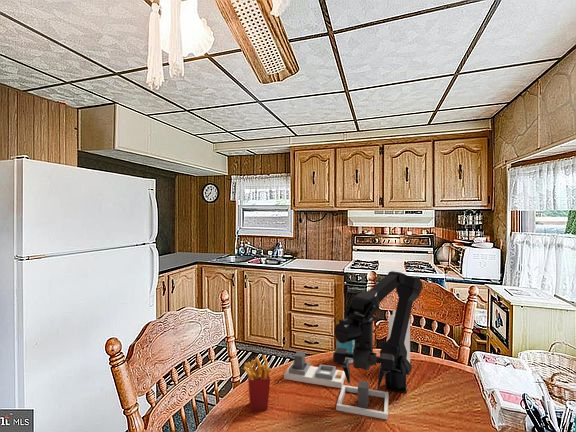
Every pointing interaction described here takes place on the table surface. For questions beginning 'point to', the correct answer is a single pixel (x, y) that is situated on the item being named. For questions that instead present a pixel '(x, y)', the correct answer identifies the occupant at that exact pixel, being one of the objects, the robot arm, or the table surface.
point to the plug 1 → (299, 360)
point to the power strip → (316, 375)
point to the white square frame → (362, 410)
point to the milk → (407, 338)
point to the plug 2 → (363, 394)
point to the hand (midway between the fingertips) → (363, 385)
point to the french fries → (258, 384)
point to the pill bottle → (347, 347)
